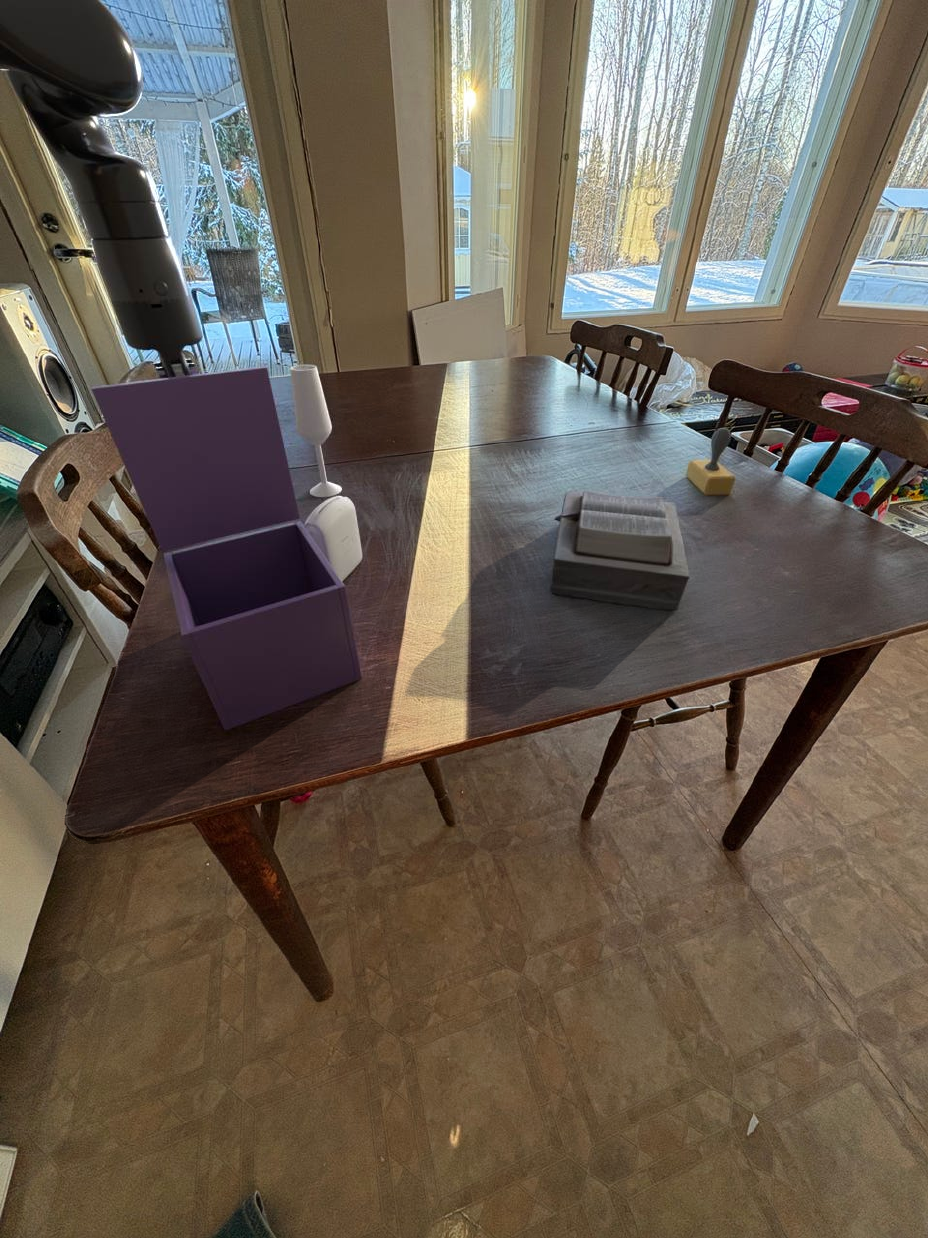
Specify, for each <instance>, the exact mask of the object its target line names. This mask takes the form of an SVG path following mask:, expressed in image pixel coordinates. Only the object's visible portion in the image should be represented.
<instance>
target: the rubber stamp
mask: <svg viewBox="0 0 928 1238" xmlns="http://www.w3.org/2000/svg"><path fill="white" fill-rule="evenodd" d="M731 438H732V435H731V431H730V430H729V429H728V428H726V427H721V428H718V429H716V430H714V433H713V434H712V436H711V440H710V447H711V459H691V460H690V461H688V465H687V470H686V473H685V476H686V477H687V478H688V479H689V480H690V481H691V482H692V484H694V485H695V486H696V487H697V489H698V490H700V491H701V492H702V493H703V494H704V495H705V496H720V495H721V496H723V495H730V494H731V493H732V490H733V487H734V485H735V481H736V476H734V474H733V473H731V472H730V471H729V470H728V469H726V468H725V467H724V466H723V465H722V464H721V463H719V458H720V456H721V455H722V454H723V452H724V451H725V450H726V449H727V447H728V446H729V444H730V442H731Z"/></svg>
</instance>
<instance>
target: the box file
mask: <svg viewBox="0 0 928 1238" xmlns="http://www.w3.org/2000/svg"><path fill="white" fill-rule="evenodd" d="M163 558H164V562H165V567H166V573H167V577H168V581H169V585H170V590H171V595H172V600H173V605H174V608H175V612H176V617H177V623H178V626H179V631H180V637H181V639H182V640H183V642H184V645H185V647H186V649H187V651H188V653H189V655H190V658H191V659H192V662H193V665H194V666H195V669H196V671H197V673H198V676H199V677H200V679H201V682H202V684H203V686H204V688H205V690H206V693H207V695H208V697H209V699H210V702H211V704H212V706H213V708H214V709H215V712H216V714H217V716H218V718H219V721H220V723H221V725H222V727H223V729H224V731H229V730H231V729H234V728H236V727H238V726H241V725H245V724H246V723H247V724H248V723H250V722H252V721H255V720H257V719H260V718H262V717H266V716H268V715H271V714H273V713H275V712H278V711H281V710H283V709H286V708H288V707H292V706H295V705H296V704H299V703H301V702H305V701H307V700H311V699H312V698H315V697H317V696H320V695H323V694H325V693H328V692H331V691H333V690H336V689H338V688H342V687H344V686H346V685H349V684H353V683H354V682H357V681H359V680H362V679H363V677H362V671H361V665H360V660H359V655H358V649H357V644H356V638H355V633H354V627H353V620H352V616H351V610H350V606H349V605H350V604H349V599H348V594H347V588H346V585H345V584H344V583H343V581H341V580H340V578H339V577H338V575H337V574H336V572H335V571H334V569H333V568H332V566H331V565H330V564H329V562H328V561H327V559H326V558H325V556H324V555H323V553H322V552H321V550H320V549H319V548H318V546H317V545H316V543H315V542H314V540H313V539H312V537H311V536H310V534H309V533H308V532H307V530H306V529H305V527H304V524H303V523H302V522H301V520H298V521H293V522H289V523H285V524H281V525H277V526H273V527H269V528H265V529H259V530H256V531H252V532H248V533H243V534H240V535H235V536H231V537H228V538H227V537H226V538H223V539H219V540H215V541H210V542H206V543H202V544H198V545H194V546H189V547H186V548H182V549H177V550H173V551H168V552H163Z"/></svg>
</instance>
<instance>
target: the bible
mask: <svg viewBox="0 0 928 1238" xmlns="http://www.w3.org/2000/svg"><path fill="white" fill-rule="evenodd" d="M553 519H554V521H557V522H558V527H557V534H556V541H555V548H554V552H553V566H552V572H551V573H552V574H551V584H550V586H549V589H550V592H552V593H555V594H557V595H559V596H563V597H566V596H570V597H573V598H577V599H588V600H595V601H597V602H603V603H610V604H619V605H625V606H635V607H643V608H648V609H651V610H653V609H655V610H668V611H671V610H673V611H677V610H679V605H680V602H681V599H682V597H683V595H684V592H685V589H686V586H687V584H688V581H689V579H690V570H689V567H688V562H687V559H686V553H685V552H686V551H685V545H684V540H683V536H682V533H681V528H680V524H679V519H678V513H677V505H676V503H675V502H672V501H665V499H664V497H663V496H645V497H644V496H624V495H623V496H622V495H615V494H608V493H601V492H596V491H592V490H587V489H585V490H583V492H576V491H566V492H565V494H564V497H563V503H562V507H561V513H560V514H559V515H557V516H555V517H554V518H553Z"/></svg>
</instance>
